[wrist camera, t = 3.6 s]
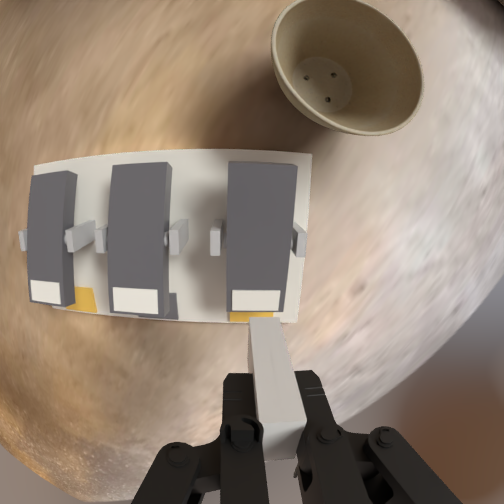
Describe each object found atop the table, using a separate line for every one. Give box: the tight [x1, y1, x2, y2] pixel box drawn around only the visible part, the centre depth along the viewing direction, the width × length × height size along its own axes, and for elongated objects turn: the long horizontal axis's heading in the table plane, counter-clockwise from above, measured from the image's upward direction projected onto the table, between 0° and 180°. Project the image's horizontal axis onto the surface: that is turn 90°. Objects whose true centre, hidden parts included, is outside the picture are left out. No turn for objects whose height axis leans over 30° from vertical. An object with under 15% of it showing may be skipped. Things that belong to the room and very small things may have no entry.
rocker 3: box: [224, 161, 298, 312], centre depth 18 cm, size 10×4×2 cm, turn 178°
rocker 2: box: [107, 162, 173, 317], centre depth 17 cm, size 10×4×2 cm, turn 178°
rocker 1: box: [27, 170, 78, 307], centre depth 17 cm, size 10×4×2 cm, turn 178°
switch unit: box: [19, 149, 312, 323], centre depth 19 cm, size 14×24×5 cm, turn 88°
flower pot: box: [271, 0, 424, 136], centre depth 15 cm, size 10×10×7 cm
